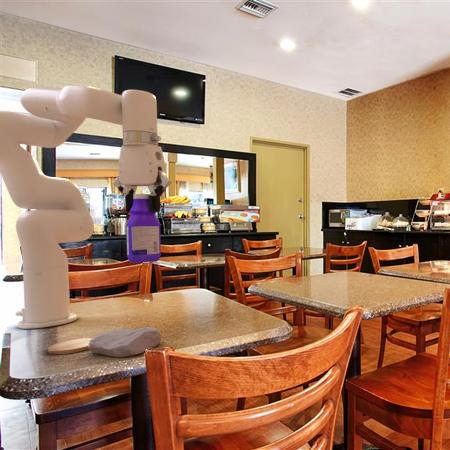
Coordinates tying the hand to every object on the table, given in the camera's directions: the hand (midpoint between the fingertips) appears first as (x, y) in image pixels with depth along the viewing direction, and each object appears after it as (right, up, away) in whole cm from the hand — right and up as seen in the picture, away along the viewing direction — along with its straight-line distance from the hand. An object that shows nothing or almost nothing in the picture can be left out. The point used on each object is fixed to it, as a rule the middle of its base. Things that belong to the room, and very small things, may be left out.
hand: (143, 211), depth 104 cm
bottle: (0, -13, 0) cm, 13 cm away
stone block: (+5, -31, -15) cm, 35 cm away
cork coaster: (-7, -31, -13) cm, 34 cm away
